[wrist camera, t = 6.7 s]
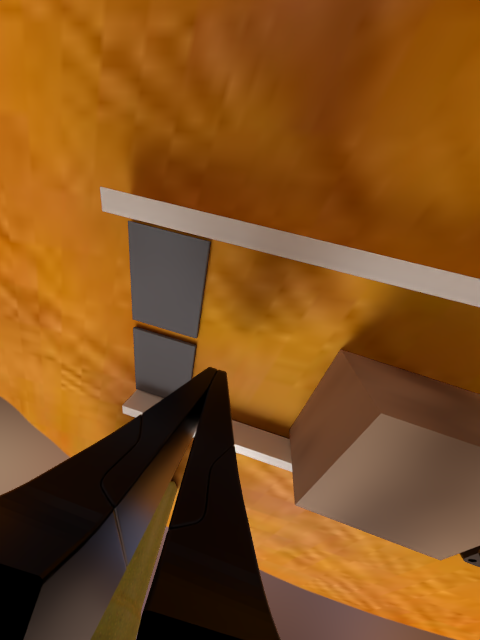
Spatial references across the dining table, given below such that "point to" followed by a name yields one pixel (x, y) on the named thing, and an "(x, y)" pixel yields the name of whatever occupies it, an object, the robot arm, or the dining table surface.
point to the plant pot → (136, 579)
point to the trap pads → (165, 304)
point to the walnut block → (391, 456)
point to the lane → (291, 247)
